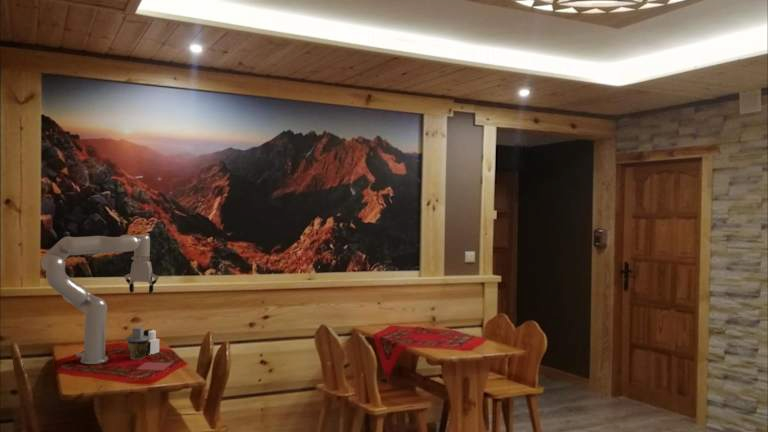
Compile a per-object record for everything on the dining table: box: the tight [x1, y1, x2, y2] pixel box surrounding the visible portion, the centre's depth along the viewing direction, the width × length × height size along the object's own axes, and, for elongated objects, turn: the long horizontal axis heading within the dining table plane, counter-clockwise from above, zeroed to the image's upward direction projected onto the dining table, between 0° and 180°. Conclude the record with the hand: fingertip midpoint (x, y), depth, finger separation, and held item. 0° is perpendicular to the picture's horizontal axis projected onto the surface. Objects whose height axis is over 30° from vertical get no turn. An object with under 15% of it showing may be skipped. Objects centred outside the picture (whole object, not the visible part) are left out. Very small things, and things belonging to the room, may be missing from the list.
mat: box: [136, 361, 173, 371], centre depth 326 cm, size 13×13×1 cm
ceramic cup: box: [127, 340, 149, 361], centre depth 339 cm, size 13×10×10 cm
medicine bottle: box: [143, 329, 160, 356], centre depth 353 cm, size 7×7×12 cm
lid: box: [125, 326, 149, 343], centre depth 339 cm, size 11×11×6 cm
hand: (141, 292), depth 347 cm, fingers open, 9 cm apart
